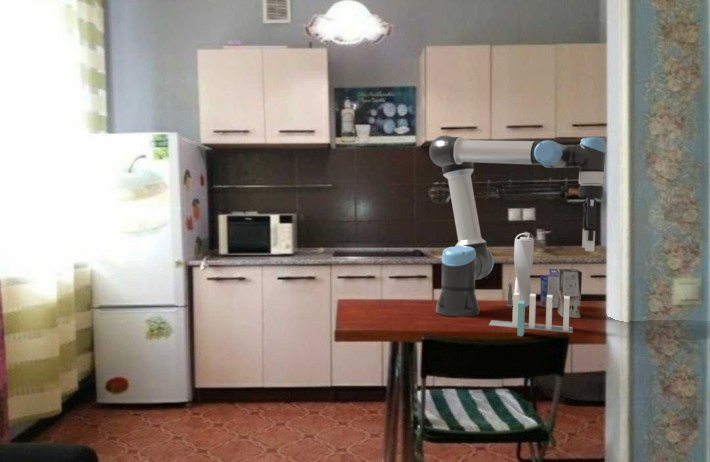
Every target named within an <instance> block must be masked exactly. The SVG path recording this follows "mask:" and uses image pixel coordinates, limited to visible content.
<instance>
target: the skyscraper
mask: <svg viewBox="0 0 710 462" xmlns="http://www.w3.org/2000/svg"><path fill="white" fill-rule="evenodd" d="M522 235H527V237H526V236H522ZM530 235H531V234H530V233H529V232H522V233H519V234H517V235H516V237H515V238H514V246H513V247H514V249H513V251H514V252H513V262H514V263H513V264H514V271H515V282H514V285H513V283H512V279H513V277H512V272H510V275H509V283H508V285H507V286H508V290H507V291H508V292H507V293H508V294H507V304H506V307H512V306H513V294H514V293H520V300H519V301H525V309H526V308H528V307H529V306H530V294H532V285H531V284H532V283H531V273H532V269H533V263H534V253H535V252H534V247H535V246H534V244H535V243H534V238H533V237H530ZM518 237H519V239H518ZM513 286H514V290H513Z"/></svg>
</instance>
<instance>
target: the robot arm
mask: <svg viewBox="0 0 710 462" xmlns="http://www.w3.org/2000/svg"><path fill="white" fill-rule="evenodd" d="M428 150H429V151H428V152H429V157H430V159H431V161H432V163H434V164H435V165H436V166H438V167H440V168H441V170H442V175H443V177H444V178H445V179H447V182H448V188H449V193H450V199H451V205H452V210H453V217H454V224H455V229H456V235H457V240H458V241H457V243H456V244H455V246H450V247H449V246H448V247H446V248H444V249H443V251H442V254H441V255H442V257H441V291H440V294H439V297H438V300H437V302H436V306H435V312H436V313H437V314H439V315H442V316H446V317H455V318H456V317H474V316H478V315H480V306H479V303H478V298H477V295H476V291H475V290H476V289H475V288H476V280H482V279H484V278H486V277H487V276H488V275H489V274H490V273H491V272H492V270H493V268H494V265H495V261H494V257H493V256H494V255H493V254H492V252H491V251H490V250H488V246H487V241H486V240H485V239H483V237H482V235H481V228H480V223H479V216H478V212H477V211H478V210H477V207H476V206H477V205H476V204H477V203H476V199H475V195H474V189H473V188H474V187H473V183H472V182H473V181H472V177H471V176H472V174H473V172H474V163H480V164H481V163H485V164H486V163H487V164H510V165H514V164H515V165H535V166H536V165H537V166H538V165H539V166H540V165H541V166H543V167H545V168H548V169H549V168H550V169H556V168H562V169H563V168H564V169H565V168H579V171H578V184H579V186H578V191H577V192H578V195H577V196H578V197H579V198H585V199H584V202H583V204H582V207H583V210H582V211H583V212H582V213H583V216H582V217H583V220H582V238H581V239H582V240H581V241H582V242H581V243H582V244H581V248H582V249H583V248H584V251H586V252H595V243H596V242H595V241H596V229H597V208H598V203H597V200H596V199H595V198H603V197H604V186H603V185H604V179H605V178H607V175H605V163H606V152H607V151H606V140H605V139H604V138H603V137H584V138H581V139H580V143H579V144H561V143H559V142H557V141H555V140H548V139H547V140H546V139H545V140H543V141H541V140H539V141H535V140H532V141H531V140H482V139H481V140H480V139H477V140H475V139H473V140H472V139H468V140H467V139H464V138H463V137H461V136H453V135H449V134H447V135H440V136H437V137H436V138H435V139H434V140H433V141H432V142H431V144H430V146H429V149H428Z"/></svg>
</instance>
